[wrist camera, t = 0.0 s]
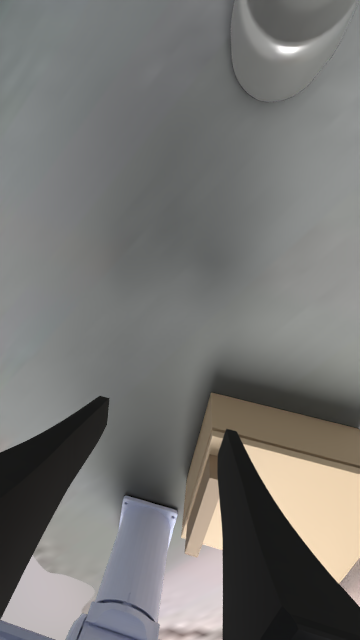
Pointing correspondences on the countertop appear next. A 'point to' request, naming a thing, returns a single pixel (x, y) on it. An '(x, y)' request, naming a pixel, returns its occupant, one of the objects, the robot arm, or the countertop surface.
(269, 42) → the plastic bottle
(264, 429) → the mailer box
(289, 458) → the lid
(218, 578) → the countertop surface
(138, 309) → the countertop surface
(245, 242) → the countertop surface
